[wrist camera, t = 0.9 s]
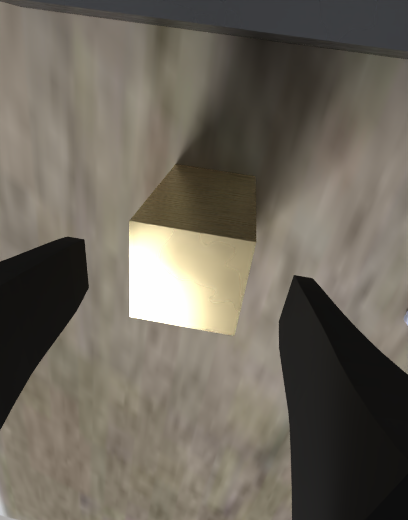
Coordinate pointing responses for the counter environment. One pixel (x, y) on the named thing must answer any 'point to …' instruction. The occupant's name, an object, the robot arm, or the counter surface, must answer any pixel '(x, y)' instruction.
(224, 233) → the brass peg
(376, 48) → the grey slotted block
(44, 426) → the counter surface
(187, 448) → the counter surface
